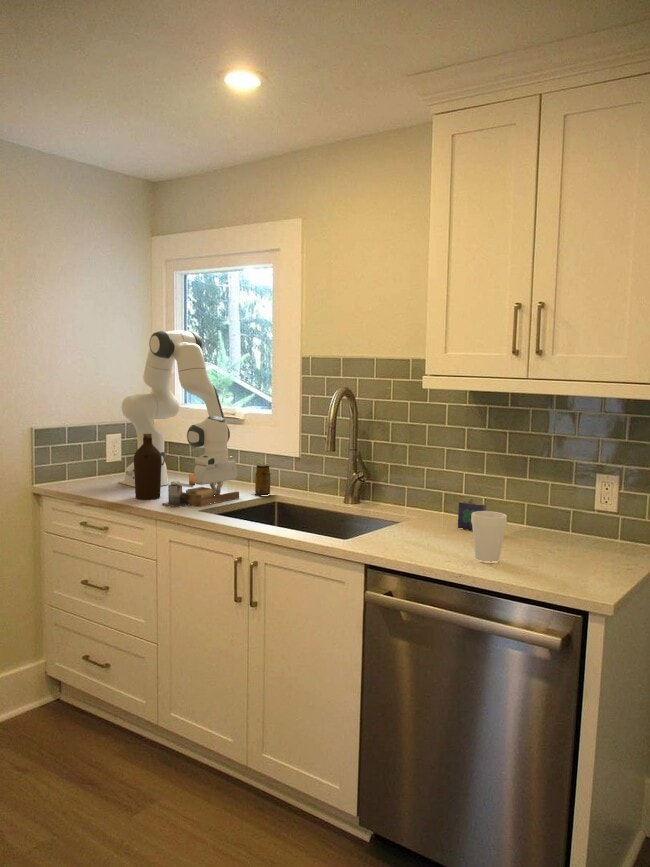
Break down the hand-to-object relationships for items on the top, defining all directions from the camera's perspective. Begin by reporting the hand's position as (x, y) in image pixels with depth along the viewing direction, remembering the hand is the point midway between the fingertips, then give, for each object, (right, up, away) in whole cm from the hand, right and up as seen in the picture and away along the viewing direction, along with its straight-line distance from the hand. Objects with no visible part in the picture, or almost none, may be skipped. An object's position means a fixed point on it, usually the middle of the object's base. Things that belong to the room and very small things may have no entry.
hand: (216, 493), depth 284 cm
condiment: (+18, -2, +10) cm, 20 cm away
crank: (-10, +4, -17) cm, 20 cm away
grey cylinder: (-13, -3, -14) cm, 20 cm away
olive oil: (-27, -2, 0) cm, 27 cm away
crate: (-5, -3, -7) cm, 10 cm away
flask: (+90, -8, -46) cm, 101 cm away
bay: (-2, -2, -3) cm, 4 cm away
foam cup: (+87, -12, -83) cm, 121 cm away
